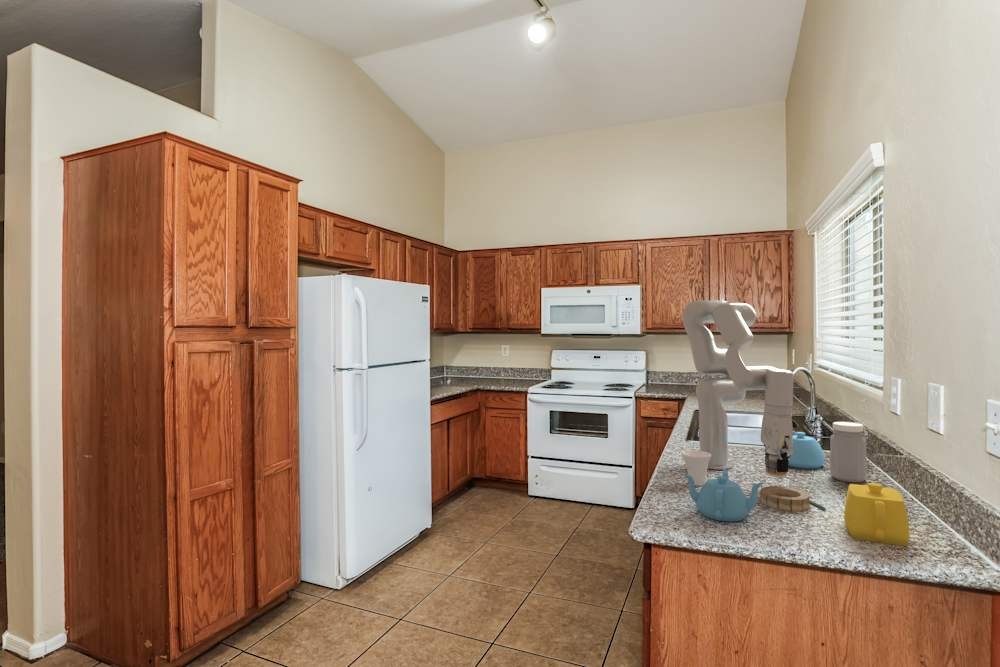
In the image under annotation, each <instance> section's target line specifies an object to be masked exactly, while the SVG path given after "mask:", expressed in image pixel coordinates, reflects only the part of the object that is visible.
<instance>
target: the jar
mask: <svg viewBox="0 0 1000 667" xmlns="http://www.w3.org/2000/svg"><path fill="white" fill-rule="evenodd" d="M832 429H833V430H832V433H833V434H831V435H830V438H829V439H830V441H829V442H830V443H829V447H830V450H829V452H830V454H829V455H830V456H829V457H830V458H829V460H830V462H829V463H830V467H829V468H830V472H829V473H830V474H831V476H832V477H833V478H834V479H835V480H837V481H838V480H839V481H841V482H847V483H862V482H864V481H865V480H866V479H867V474H868V473H867V439H866V437H864V436H863V435H865V434H864V433H863V431H864V429H865V428H864V424H862V423H859V422H852V421H834V422H832Z"/></svg>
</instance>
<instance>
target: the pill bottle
mask: <svg viewBox="0 0 1000 667" xmlns="http://www.w3.org/2000/svg"><path fill="white" fill-rule="evenodd" d="M781 449H785V447H782V448H781ZM781 452H782V454H783V453H784V452H785V451H781ZM765 453H766V465H765V473H766V474H767V475H768V476H770V477H773V478H785V477H787V475H788V474H787V473H788V472H777V459H779V457H778V451H777V450H775V449H773V448H771V447H769V449H767V451H766V452H765Z"/></svg>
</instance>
